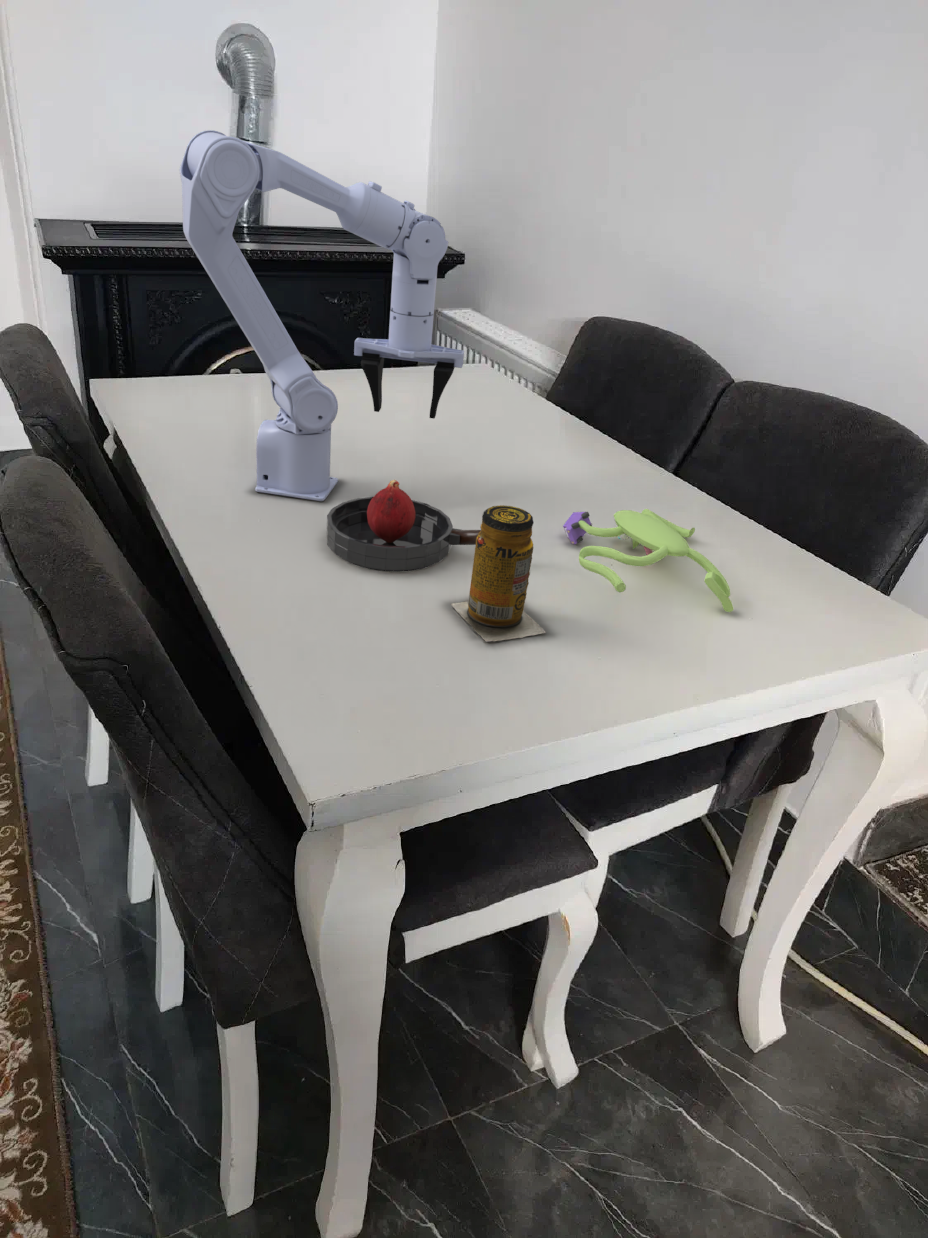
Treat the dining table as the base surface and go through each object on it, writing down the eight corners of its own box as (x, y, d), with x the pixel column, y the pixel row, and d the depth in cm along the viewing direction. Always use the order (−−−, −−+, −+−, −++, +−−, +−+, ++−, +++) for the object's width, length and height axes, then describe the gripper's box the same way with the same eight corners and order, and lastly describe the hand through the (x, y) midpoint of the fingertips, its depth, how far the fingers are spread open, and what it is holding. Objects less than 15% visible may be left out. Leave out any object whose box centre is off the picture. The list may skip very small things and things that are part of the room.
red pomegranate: (406, 556, 109) (410, 493, 105) (359, 548, 110) (362, 485, 106) (417, 537, 114) (422, 476, 110) (373, 529, 115) (376, 468, 111)
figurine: (577, 615, 102) (586, 570, 99) (552, 518, 125) (558, 479, 122) (739, 627, 103) (752, 583, 100) (684, 529, 126) (693, 491, 124)
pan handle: (443, 546, 110) (445, 522, 109) (446, 539, 112) (448, 515, 111) (523, 558, 110) (526, 534, 108) (524, 551, 111) (528, 527, 110)
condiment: (508, 597, 104) (521, 498, 98) (546, 634, 98) (563, 530, 92) (450, 605, 101) (460, 504, 95) (485, 644, 95) (498, 538, 89)
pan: (311, 562, 107) (312, 536, 105) (344, 513, 120) (345, 489, 118) (438, 582, 105) (441, 555, 104) (457, 530, 118) (460, 506, 117)
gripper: (351, 310, 117) (347, 415, 124) (464, 324, 117) (454, 427, 123) (361, 300, 123) (357, 400, 130) (468, 313, 123) (459, 412, 129)
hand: (405, 412), depth 127 cm, fingers open, 7 cm apart
